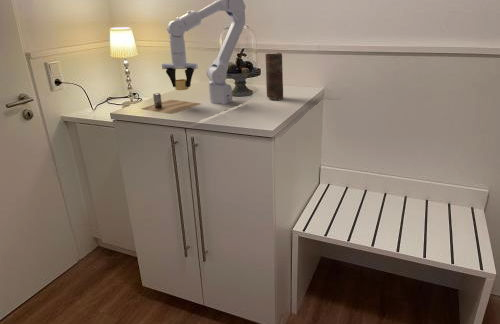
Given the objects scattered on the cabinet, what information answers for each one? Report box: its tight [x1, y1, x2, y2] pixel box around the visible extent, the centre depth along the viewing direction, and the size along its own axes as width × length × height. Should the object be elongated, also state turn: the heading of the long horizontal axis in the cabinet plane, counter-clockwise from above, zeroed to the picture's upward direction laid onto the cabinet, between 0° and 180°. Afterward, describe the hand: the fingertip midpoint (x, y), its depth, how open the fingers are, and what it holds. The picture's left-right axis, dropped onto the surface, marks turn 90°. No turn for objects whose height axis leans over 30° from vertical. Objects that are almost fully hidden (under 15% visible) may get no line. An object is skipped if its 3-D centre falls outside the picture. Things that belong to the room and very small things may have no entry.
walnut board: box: [140, 99, 201, 115], centre depth 158 cm, size 18×18×1 cm
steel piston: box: [152, 92, 163, 108], centre depth 156 cm, size 3×3×6 cm
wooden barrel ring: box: [174, 78, 190, 91], centre depth 155 cm, size 5×5×4 cm
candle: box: [265, 52, 284, 101], centre depth 164 cm, size 8×7×20 cm
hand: (181, 86), depth 155 cm, fingers closed on wooden barrel ring, 5 cm apart
